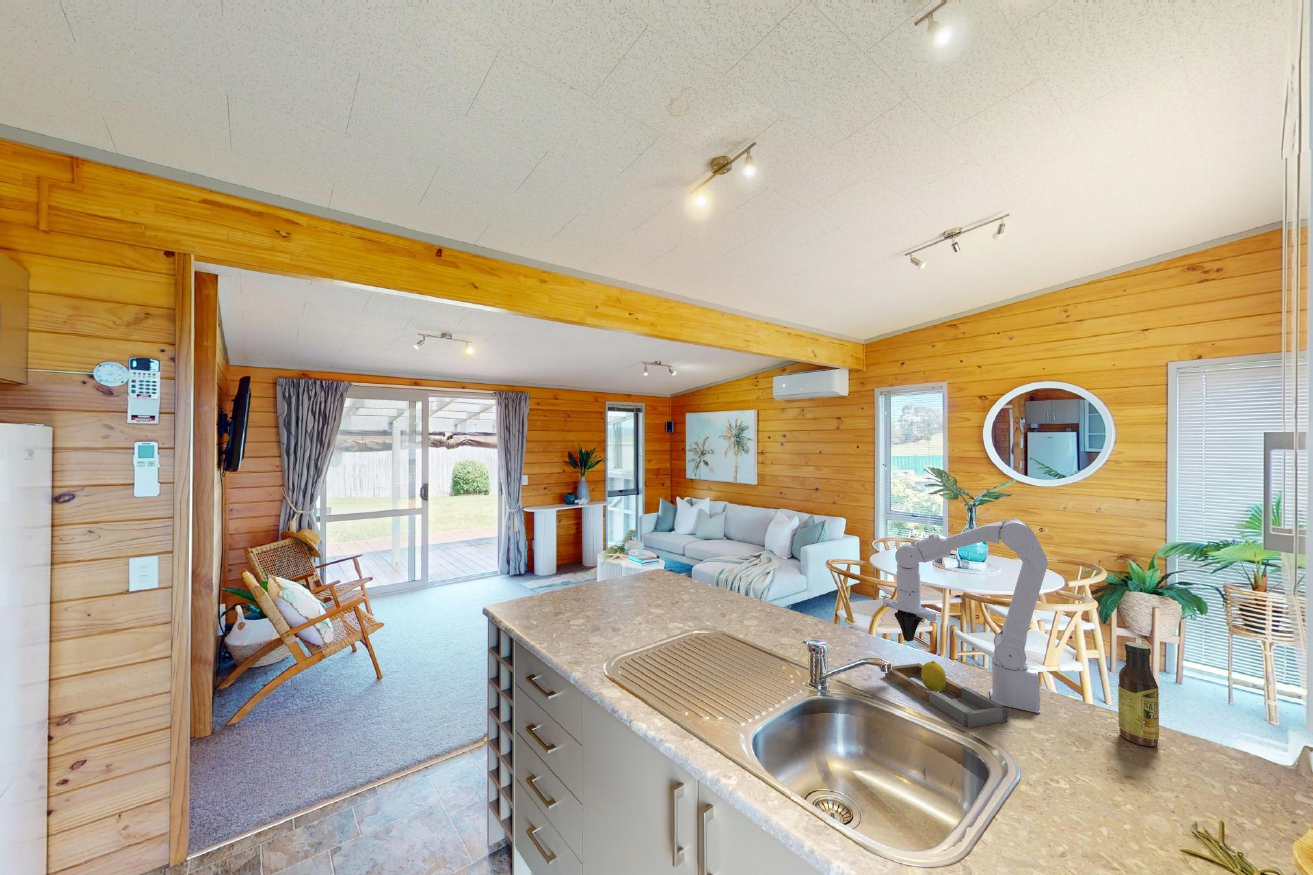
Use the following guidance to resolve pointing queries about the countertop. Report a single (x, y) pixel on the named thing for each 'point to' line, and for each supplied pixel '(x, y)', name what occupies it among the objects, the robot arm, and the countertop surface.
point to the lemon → (933, 676)
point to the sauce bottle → (1138, 697)
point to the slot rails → (901, 678)
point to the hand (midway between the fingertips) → (908, 640)
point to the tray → (970, 708)
